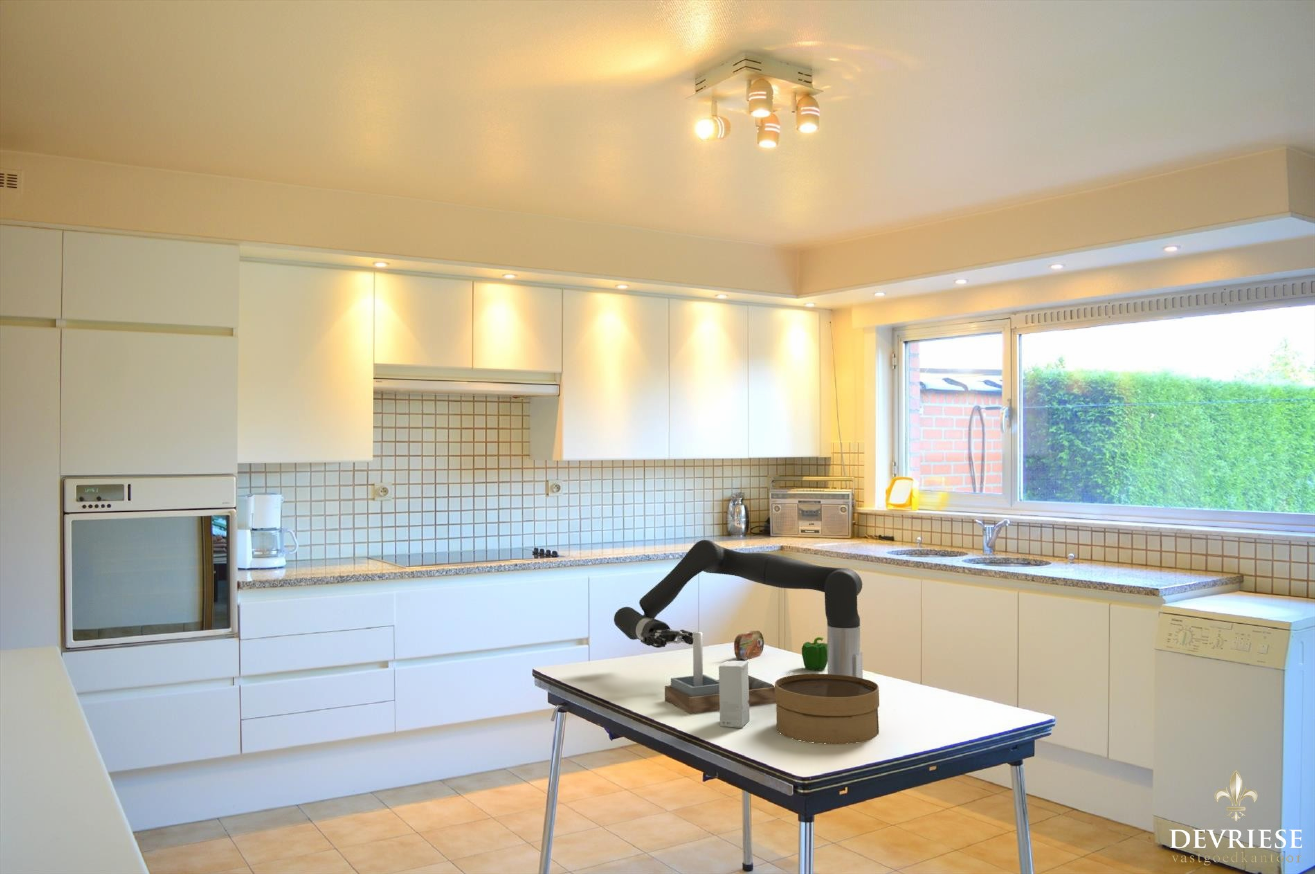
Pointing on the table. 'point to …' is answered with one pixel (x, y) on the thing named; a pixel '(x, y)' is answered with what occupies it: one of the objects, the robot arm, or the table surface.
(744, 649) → the tin
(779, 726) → the steamer basket
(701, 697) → the bay
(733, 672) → the skincare box
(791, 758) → the table surface
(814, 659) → the bell pepper
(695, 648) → the tray with upright post
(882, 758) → the table surface
